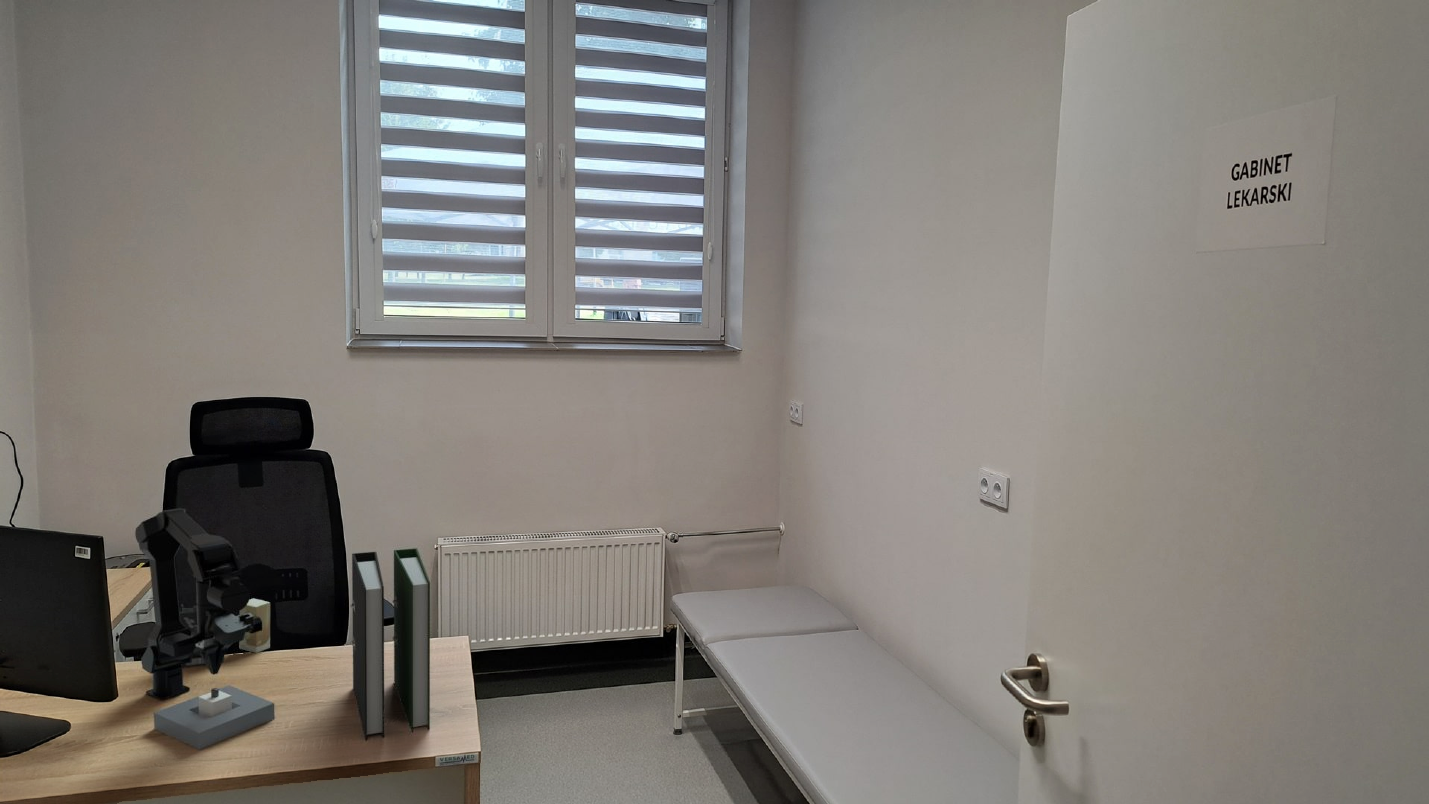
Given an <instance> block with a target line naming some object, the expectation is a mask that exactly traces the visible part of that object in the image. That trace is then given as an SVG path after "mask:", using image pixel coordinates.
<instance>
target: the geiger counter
mask: <svg viewBox="0 0 1429 804" xmlns="http://www.w3.org/2000/svg"><path fill="white" fill-rule="evenodd" d="M179 612H180V621H181V622H182V623H183V625H184V626H185V627H186V628H189V629H190V631H191V635H194V634H197V631H194V625H197V612H194V611H193V607H188V608H185V607H184V604H183V603H181V605H180V608H179ZM228 649H229V648H228ZM228 649H227V651H228ZM224 661H225V657H224V658H223V660H222V663H221V664H223V663H224ZM204 666H207V665H206V664H205V662H204V660H203V658H202V657H201V655H200V654H199V652H198V651H197V650H196V649H194V652H193V658H192V663H187V664H183V665H182V669H184V667H185V668H193V667H204Z"/></svg>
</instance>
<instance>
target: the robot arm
mask: <svg viewBox="0 0 1429 804" xmlns="http://www.w3.org/2000/svg"><path fill="white" fill-rule="evenodd" d="M134 535H135V539H136V541H137V543H138V547H139V550H140V551H141V553H143V555H144V556H145V557H147V559H148V560H149V569H150V580H151V581H150V582H151V592H152V601H153V611H154V622H155V624H154V626H153V628H152V630H151V632H150V634H149V636H148V638H147V643H148V644H147V645H148V646H147V648H146V650H145V652H144V653H143V655H142V656H141V659H140V662H141V667H142V668H141V669H143V670H144V671H145V672H147V673H148V674H150V675H152V688H151V689H148V690H146V691H145V694H146V695H148V696H151V697H152V698H155V699H157V700H161V701H163V700H166V699H169V698H171V697H174V696H177V695H180V694H183V693H186V692H189V691H190V690H191V687H190V686H187V685H185V684H184V674H183V668H182V665H183V664H187V663H192V658H193V652H194V649H196V650H197V651H198V652H199V654H200V655H201V657H202V658H203V660H204V662H205V664H206V665H205V666H206V668H207V669H208V671H209V673H210V674H211V675H213V676H214V675H217V674H219V671H220V669H221V665H222V664H223V663H222V660H223V658H224V659H225V655H226V653H227V651H228V650H227V649H229V647H231V646H232V645H233V644H235V643H237V642H239V641H242V640H244V638H245V634H246V633H247V632H248V633H250V634H252V633H255V632H258V631H262V630H263V621H262V619H261V618H260V617H258V616H254V615H252V614H251V613H246V614H243V615H240V614H238V615H235V613H238V612H240V610H242V609H243V608H244V607H245V606H246V605H247V604H248V602H249V600H250V598H251V592H250V590H249V588H248V587H247V586H246V585H244V584H242V583H240V577H238V576H236V575H241V574H242V569H241V567H242V563H241V562H240V559H239V557H238V554H237V553H236V551H235V548H234V547H233V545H232V544H231V542H230V541H229V540H227V539H226V538H225V537H222V536H221V535H214V534H209V533H207V531H206V530H205V529H203V528H202V526H200V525H199V524H198V523H197V522H196V521H195V520H194V519H193V518H192V517H191V516H190V515H189V513H188V510H187V509H186V508H181V507H180V508H173V509H167V510H166V509H165V510H162V511H160V512H158V513H157V514H156V515H154V516H152V517H150V518H148V519H145V520H143V521H142V522H141V523H140V524H139V525H138V526H137V527H136V528H135V531H134ZM181 546H182V547H183V548H184V549H185V550H186V551H187V553H188V554H187V562H188V565H189V566H190V569H191V571H192V572H193V573H192V577H193V578H196V580H195V592H196V594H195V595H196V599H195V600H196V605H193V607H192V608H193V611H194V612H197V625H194V631H197V634H194V635H191V631H190V629H189V628H186V627H185V626H184V625H183V623H182V622H181V621H180V612H179V611H180V605H179V604H180V603H179V602H180V601H179V593H178V582H177V581H178V580H177V574H176V573H177V571H176V562H175V561H176V560H175V557H176V555H177V553H178V551H179V549H180V547H181Z"/></svg>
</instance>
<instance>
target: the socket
mask: <svg viewBox="0 0 1429 804" xmlns="http://www.w3.org/2000/svg"><path fill="white" fill-rule="evenodd" d="M219 691H221V692H224V693H226V694H229V695H231V696H232V709H231V710H229V711H226V712H223V713H221V714H218V715H216V716H213V717H211V718H206V717H204V716H202V715H199V696H202V695H205V694H208V693H210V692H211V691H209V692H207V693H204V694H200V695H199V696H196V697H193V698H191V699H187V700H185V701H182V702H179V703H176V704H174V705H171V706H168V707H166V708H163V709H160V710H158V711H155V712H153V728H154V730H156V731H158V732H160V733H163V734H164V735H167V736H168V737H171V738H173V737H174V738H173V739H175V738H176V740H178V741H180V742H182V743H184V744H186V743H187V744H186V745H188V746H191V747H192V746H193V748H195V749H197V750H198V751H200V750H202V749H206V748H208V747H210V746H212V745H215V744H217V743H219V742H222V741H224V740H227V739H230V738H231V737H234V736H236V735H239V734H242V733H244V732H245V731H248V730H251V729H253V728H255V727H258V726H260V725H263V724H265V722H266V723H268V722H269V721H272V719H273V720H274V719H275V718H276V717H275V702H274V701H270V700H268V699H265V698H263V697H260V696H257V695H255V694H252V693H250V692H247V691H244V690H243V689H239V688H237V687H235V686H231V685H226V686H224V687H221V688H219Z"/></svg>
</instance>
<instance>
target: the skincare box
mask: <svg viewBox="0 0 1429 804" xmlns="http://www.w3.org/2000/svg"><path fill="white" fill-rule="evenodd" d="M246 613H251V614H252V615H254V616H258V617H260V618H261V619H262V621H263V630H262V631H258V632H255V633H252V634H250V633H248V632H247V633H246V634H245V638H244V640H242V641H238V642H239V643H238V644H239V646H238V647H239V649H240V650H243V651H244V650H245V651H248V652H251V653H254V654H257V653H260V652H262V651H265V650H267V649H270V648H271V602H269V601H265V600H263V599H258V598H254V597H253V598H251V599H249V602H248V604H247V605H246V606H245V607H244V608H243V609H242V610H240V611H239V615H243V614H246Z"/></svg>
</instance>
